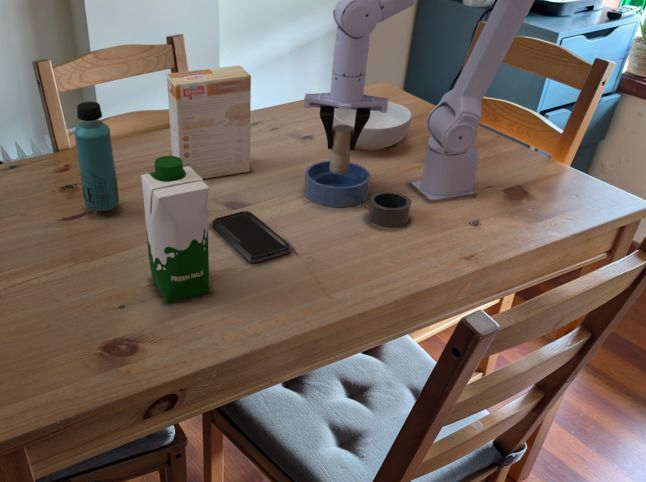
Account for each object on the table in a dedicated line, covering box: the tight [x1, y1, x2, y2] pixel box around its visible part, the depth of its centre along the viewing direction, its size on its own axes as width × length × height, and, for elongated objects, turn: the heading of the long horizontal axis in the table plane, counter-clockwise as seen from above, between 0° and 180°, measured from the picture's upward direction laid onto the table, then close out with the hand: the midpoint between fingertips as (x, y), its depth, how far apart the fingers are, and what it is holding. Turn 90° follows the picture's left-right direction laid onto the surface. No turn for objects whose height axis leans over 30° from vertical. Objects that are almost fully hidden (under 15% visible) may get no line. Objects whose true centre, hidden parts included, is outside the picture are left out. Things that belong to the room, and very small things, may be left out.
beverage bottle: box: [73, 101, 120, 212], centre depth 122 cm, size 6×7×20 cm
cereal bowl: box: [333, 100, 412, 152], centre depth 150 cm, size 17×17×7 cm
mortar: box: [367, 191, 412, 229], centre depth 124 cm, size 7×7×4 cm
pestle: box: [329, 125, 353, 174], centre depth 127 cm, size 4×4×8 cm
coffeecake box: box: [166, 64, 252, 180], centre depth 136 cm, size 15×7×20 cm, turn 108°
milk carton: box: [140, 155, 210, 304], centre depth 102 cm, size 9×9×20 cm
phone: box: [212, 210, 290, 264], centre depth 120 cm, size 8×1×15 cm
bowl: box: [303, 160, 372, 208], centre depth 131 cm, size 12×12×4 cm
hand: (341, 147), depth 126 cm, fingers closed on pestle, 3 cm apart
